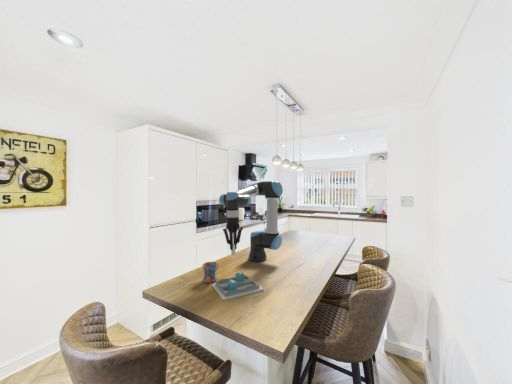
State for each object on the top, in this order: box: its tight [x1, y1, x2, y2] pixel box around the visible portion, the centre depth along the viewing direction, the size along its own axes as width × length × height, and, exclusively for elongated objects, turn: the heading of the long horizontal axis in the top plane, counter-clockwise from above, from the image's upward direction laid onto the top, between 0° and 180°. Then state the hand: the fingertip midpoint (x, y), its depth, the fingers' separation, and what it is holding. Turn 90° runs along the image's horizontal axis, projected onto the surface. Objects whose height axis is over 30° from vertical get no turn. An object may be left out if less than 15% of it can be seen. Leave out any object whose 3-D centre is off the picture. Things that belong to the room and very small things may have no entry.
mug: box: [202, 261, 219, 284], centre depth 136 cm, size 12×9×11 cm
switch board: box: [211, 274, 264, 302], centre depth 125 cm, size 24×20×3 cm
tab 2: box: [235, 271, 245, 282], centre depth 131 cm, size 4×4×6 cm
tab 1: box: [228, 280, 237, 291], centre depth 119 cm, size 4×4×6 cm
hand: (233, 254), depth 133 cm, fingers closed
